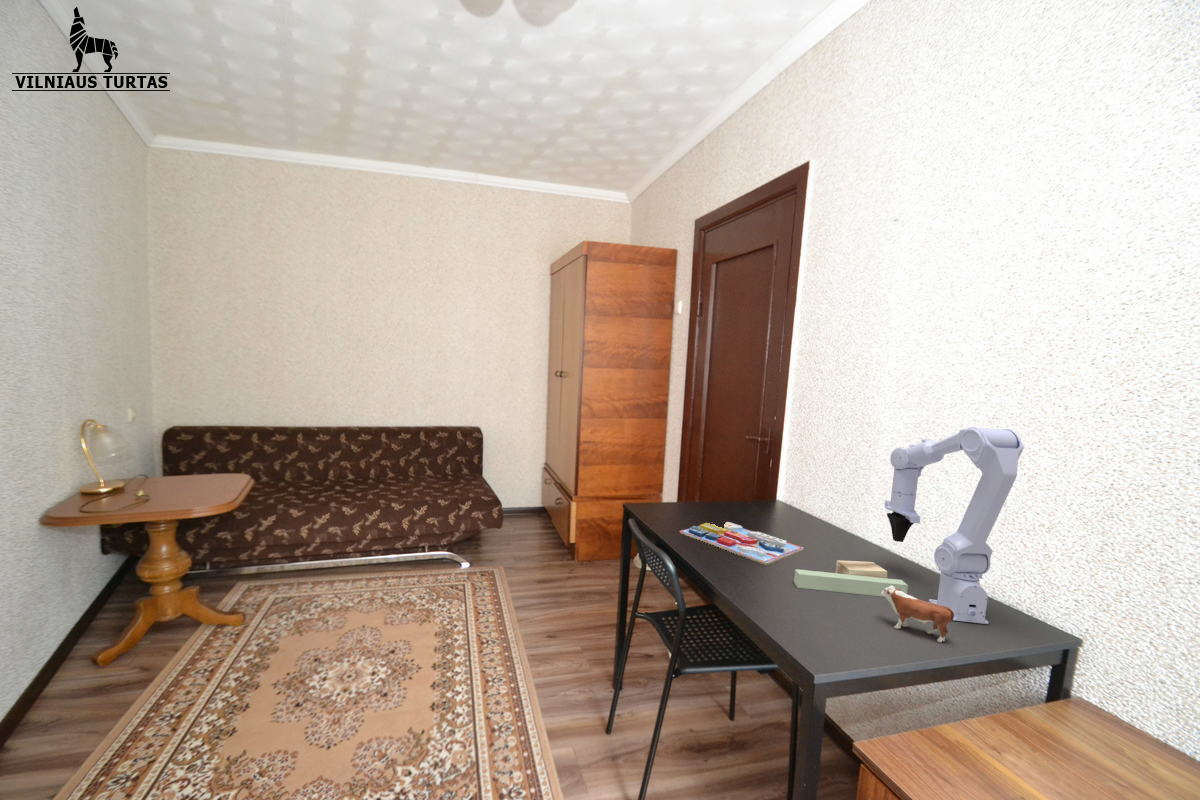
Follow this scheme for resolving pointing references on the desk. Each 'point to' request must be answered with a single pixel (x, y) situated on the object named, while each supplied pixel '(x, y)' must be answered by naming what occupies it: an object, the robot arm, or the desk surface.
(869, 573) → the beech block
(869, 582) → the pale green block
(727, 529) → the puzzle board
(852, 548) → the desk surface
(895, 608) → the bull figurine
